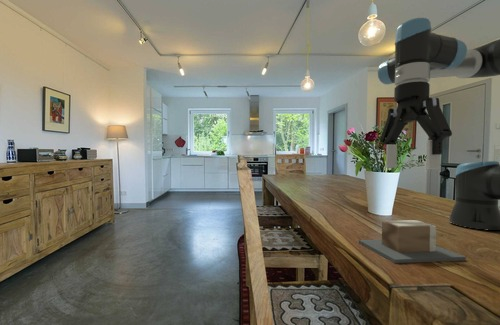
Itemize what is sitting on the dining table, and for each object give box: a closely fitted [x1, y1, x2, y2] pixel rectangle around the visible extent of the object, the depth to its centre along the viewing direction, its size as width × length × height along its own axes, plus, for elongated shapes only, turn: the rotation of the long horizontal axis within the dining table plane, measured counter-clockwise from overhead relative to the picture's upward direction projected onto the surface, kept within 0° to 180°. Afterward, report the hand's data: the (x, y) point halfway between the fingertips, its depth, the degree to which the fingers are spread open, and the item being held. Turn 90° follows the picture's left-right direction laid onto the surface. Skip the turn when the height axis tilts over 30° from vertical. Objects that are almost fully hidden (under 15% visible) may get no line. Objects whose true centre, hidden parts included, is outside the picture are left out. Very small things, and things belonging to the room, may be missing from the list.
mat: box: [358, 239, 467, 264], centre depth 64 cm, size 18×14×1 cm
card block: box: [381, 219, 437, 253], centre depth 64 cm, size 6×10×6 cm, turn 98°
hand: (409, 168), depth 65 cm, fingers open, 13 cm apart
